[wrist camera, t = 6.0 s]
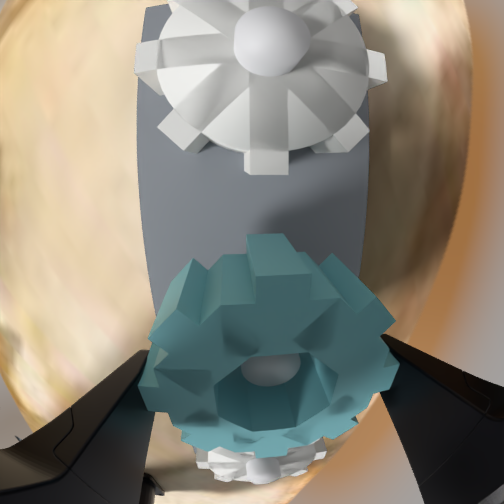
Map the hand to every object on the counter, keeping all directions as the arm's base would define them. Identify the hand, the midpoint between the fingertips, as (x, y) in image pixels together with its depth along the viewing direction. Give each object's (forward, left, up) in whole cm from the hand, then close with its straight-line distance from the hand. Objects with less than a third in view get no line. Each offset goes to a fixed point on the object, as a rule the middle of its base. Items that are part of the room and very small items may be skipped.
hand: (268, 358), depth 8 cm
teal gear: (0, 0, -1) cm, 1 cm away
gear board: (0, 0, -5) cm, 5 cm away
